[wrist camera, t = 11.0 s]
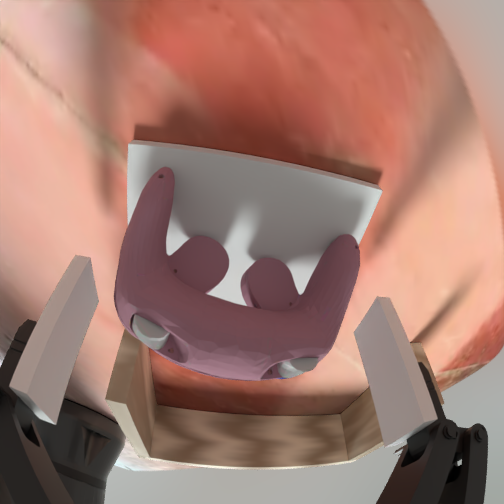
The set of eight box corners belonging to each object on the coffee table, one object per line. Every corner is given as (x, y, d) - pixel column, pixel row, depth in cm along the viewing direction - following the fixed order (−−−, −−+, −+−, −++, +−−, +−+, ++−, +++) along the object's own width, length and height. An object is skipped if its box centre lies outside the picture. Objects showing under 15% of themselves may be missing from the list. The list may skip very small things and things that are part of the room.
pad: (138, 314, 18) (135, 321, 17) (133, 139, 11) (128, 143, 11) (306, 335, 19) (307, 342, 19) (377, 185, 13) (382, 190, 12)
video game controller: (144, 211, 14) (99, 347, 11) (153, 150, 10) (80, 332, 7) (317, 267, 17) (304, 392, 13) (369, 232, 13) (366, 391, 10)
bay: (146, 406, 27) (139, 457, 22) (128, 317, 18) (105, 399, 13) (344, 417, 30) (352, 462, 25) (420, 342, 21) (444, 403, 16)
